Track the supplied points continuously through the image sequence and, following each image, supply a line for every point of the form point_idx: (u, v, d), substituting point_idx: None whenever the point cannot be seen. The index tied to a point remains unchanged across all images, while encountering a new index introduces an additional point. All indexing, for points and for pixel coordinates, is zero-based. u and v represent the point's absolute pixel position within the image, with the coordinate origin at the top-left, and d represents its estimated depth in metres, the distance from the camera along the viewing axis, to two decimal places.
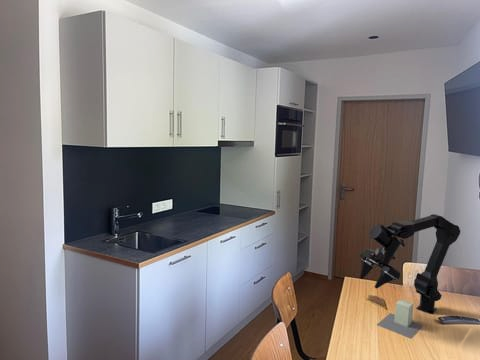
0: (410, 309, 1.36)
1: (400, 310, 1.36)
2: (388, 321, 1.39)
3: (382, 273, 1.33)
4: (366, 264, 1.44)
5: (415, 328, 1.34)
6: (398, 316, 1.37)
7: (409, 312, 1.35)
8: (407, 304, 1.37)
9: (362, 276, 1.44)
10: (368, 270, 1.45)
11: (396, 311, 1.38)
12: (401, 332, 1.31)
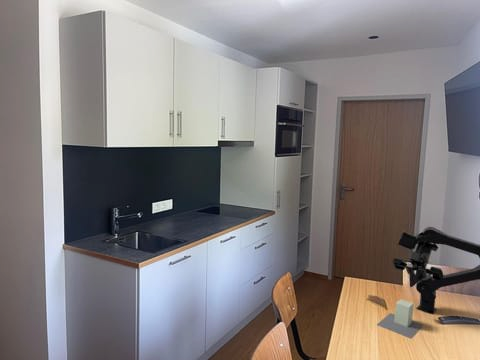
0: (410, 309, 1.36)
1: (400, 310, 1.36)
2: (388, 321, 1.39)
3: (419, 272, 1.41)
4: (413, 271, 1.44)
5: (415, 328, 1.34)
6: (398, 316, 1.37)
7: (409, 312, 1.35)
8: (407, 304, 1.37)
9: None
10: (413, 277, 1.44)
11: (396, 311, 1.38)
12: (401, 332, 1.31)
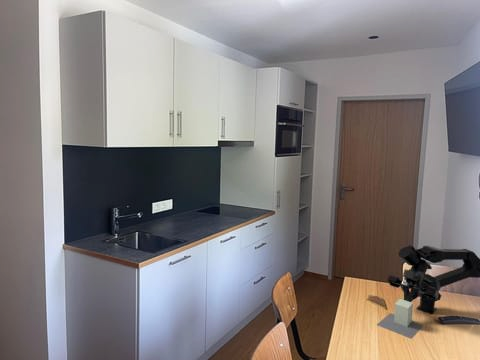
0: (409, 309, 1.35)
1: (399, 311, 1.36)
2: (388, 321, 1.39)
3: (413, 290, 1.39)
4: (408, 289, 1.42)
5: (415, 328, 1.34)
6: (397, 316, 1.37)
7: (408, 312, 1.35)
8: (406, 304, 1.36)
9: None
10: (408, 296, 1.43)
11: (395, 312, 1.37)
12: (401, 332, 1.31)
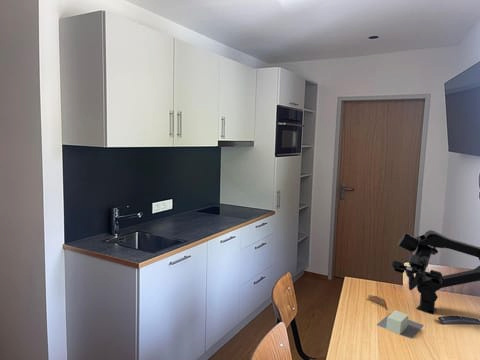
0: (401, 328, 1.30)
1: None
2: None
3: (418, 275, 1.41)
4: (412, 274, 1.43)
5: (415, 328, 1.34)
6: None
7: (402, 329, 1.31)
8: (396, 327, 1.30)
9: None
10: None
11: None
12: None
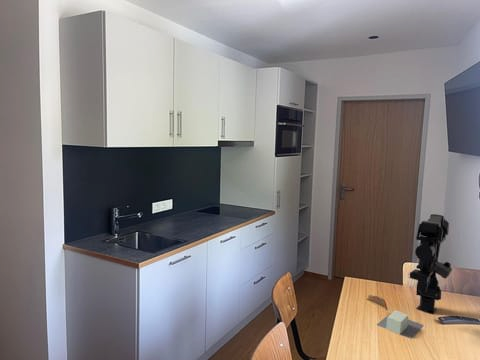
0: (401, 328, 1.30)
1: None
2: None
3: (433, 277, 1.36)
4: None
5: (415, 328, 1.34)
6: None
7: (402, 329, 1.31)
8: (396, 327, 1.30)
9: None
10: None
11: None
12: None
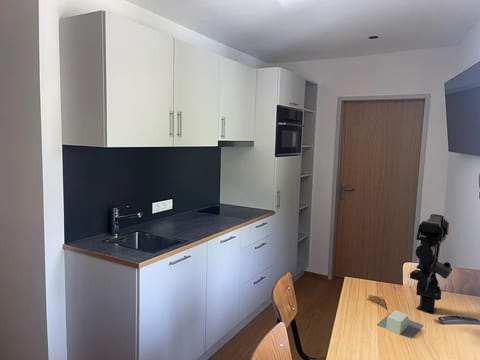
0: (401, 328, 1.30)
1: None
2: None
3: (433, 277, 1.36)
4: None
5: (415, 328, 1.34)
6: None
7: (402, 329, 1.31)
8: (396, 327, 1.30)
9: None
10: None
11: None
12: None
